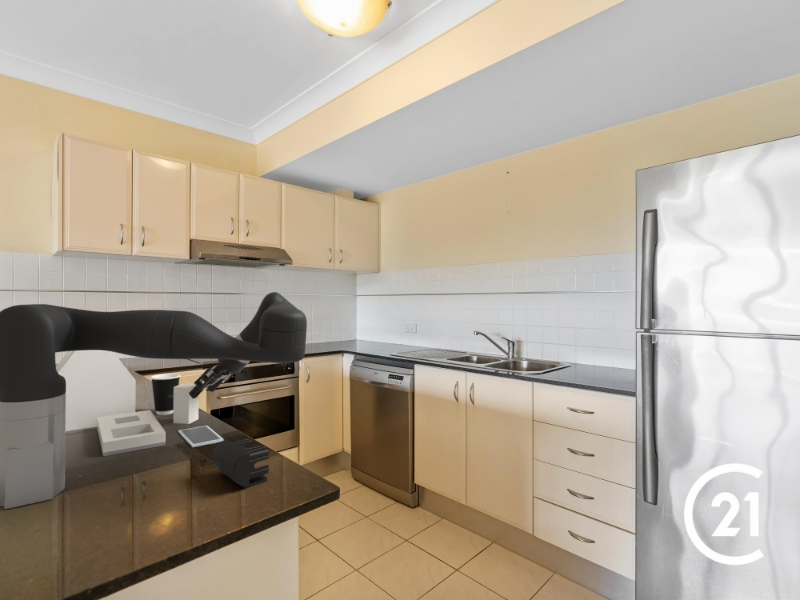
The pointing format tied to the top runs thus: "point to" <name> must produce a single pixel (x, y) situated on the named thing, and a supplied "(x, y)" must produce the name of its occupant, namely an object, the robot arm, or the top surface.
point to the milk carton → (95, 387)
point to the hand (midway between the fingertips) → (201, 392)
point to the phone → (200, 436)
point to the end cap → (241, 462)
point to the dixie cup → (164, 392)
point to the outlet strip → (129, 432)
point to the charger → (185, 405)
